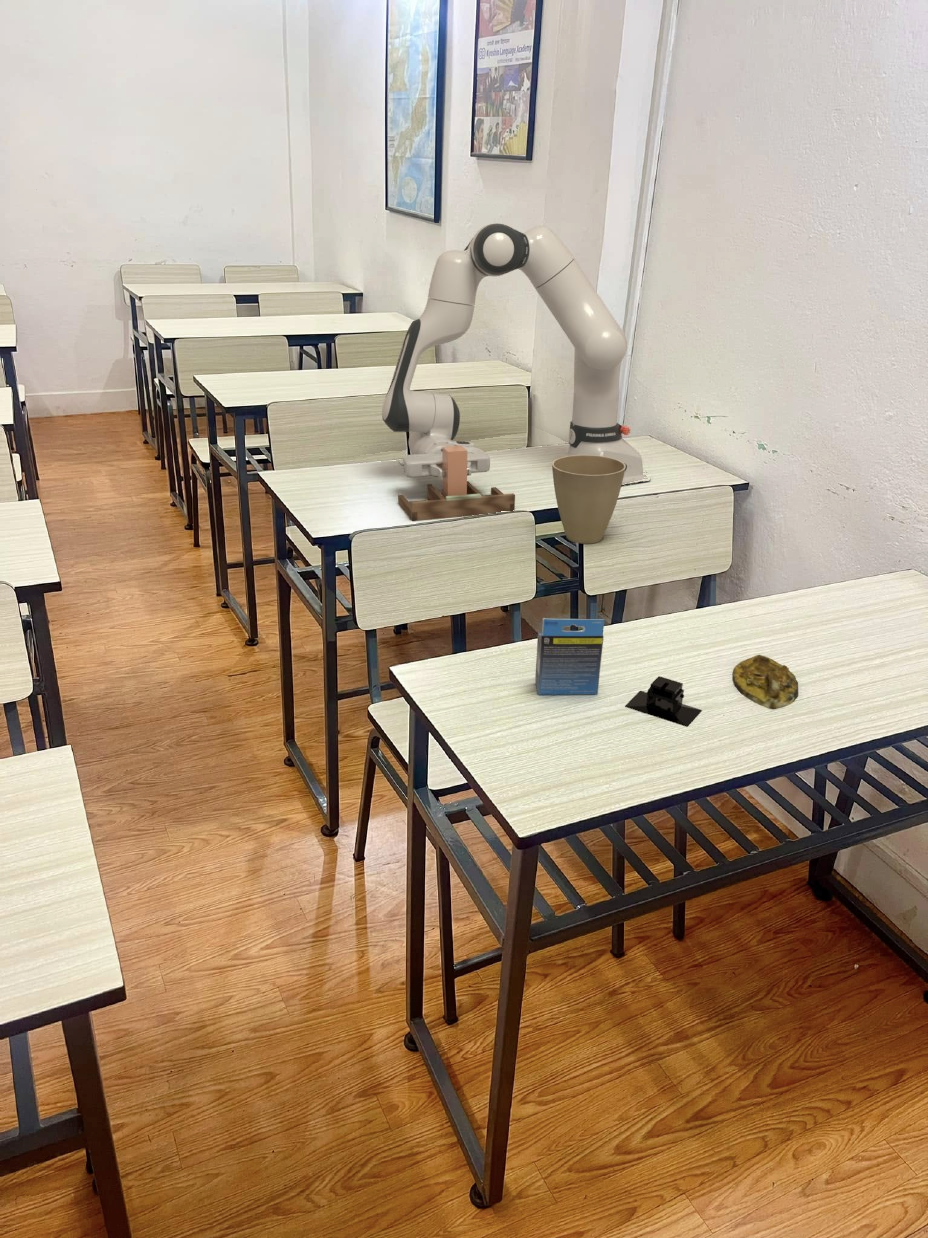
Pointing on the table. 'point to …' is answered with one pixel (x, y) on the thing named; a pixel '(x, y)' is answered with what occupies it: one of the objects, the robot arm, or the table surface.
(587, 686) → the label tape box
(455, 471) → the terracotta block
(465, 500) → the box
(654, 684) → the black stand
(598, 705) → the table surface
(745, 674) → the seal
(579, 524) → the plant pot
